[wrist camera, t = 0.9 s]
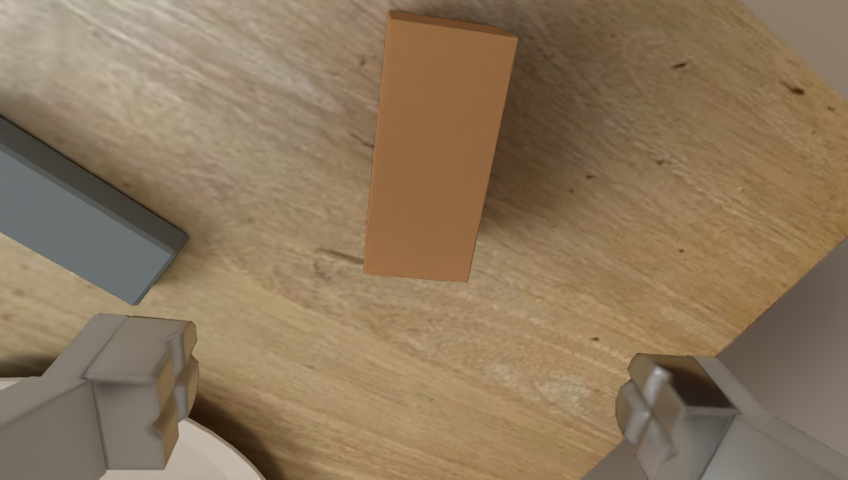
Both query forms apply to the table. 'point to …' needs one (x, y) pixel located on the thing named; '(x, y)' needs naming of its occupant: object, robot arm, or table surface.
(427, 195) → the brown rectangular block
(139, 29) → the table surface
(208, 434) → the plate
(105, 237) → the bracket
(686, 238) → the table surface
